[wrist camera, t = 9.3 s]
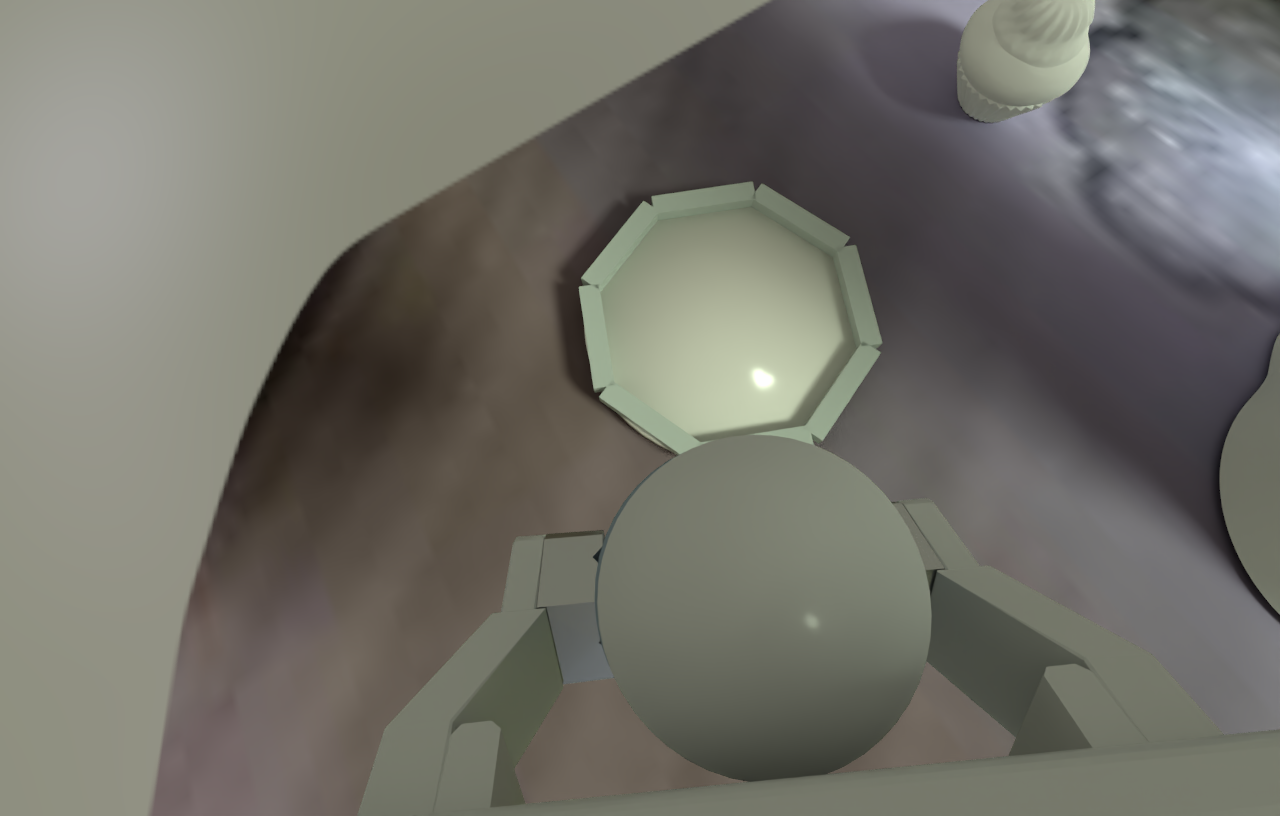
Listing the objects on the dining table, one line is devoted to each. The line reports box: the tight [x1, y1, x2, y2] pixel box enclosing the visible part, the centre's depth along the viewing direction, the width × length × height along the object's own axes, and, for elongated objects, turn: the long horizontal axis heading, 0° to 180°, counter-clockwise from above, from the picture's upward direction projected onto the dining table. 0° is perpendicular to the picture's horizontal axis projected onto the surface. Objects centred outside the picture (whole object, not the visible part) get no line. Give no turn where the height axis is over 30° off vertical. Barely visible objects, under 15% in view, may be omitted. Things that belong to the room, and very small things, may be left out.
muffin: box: [957, 0, 1095, 123], centre depth 31 cm, size 6×6×7 cm
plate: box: [579, 181, 882, 456], centre depth 30 cm, size 14×14×2 cm
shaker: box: [594, 435, 932, 782], centre depth 11 cm, size 4×4×8 cm
